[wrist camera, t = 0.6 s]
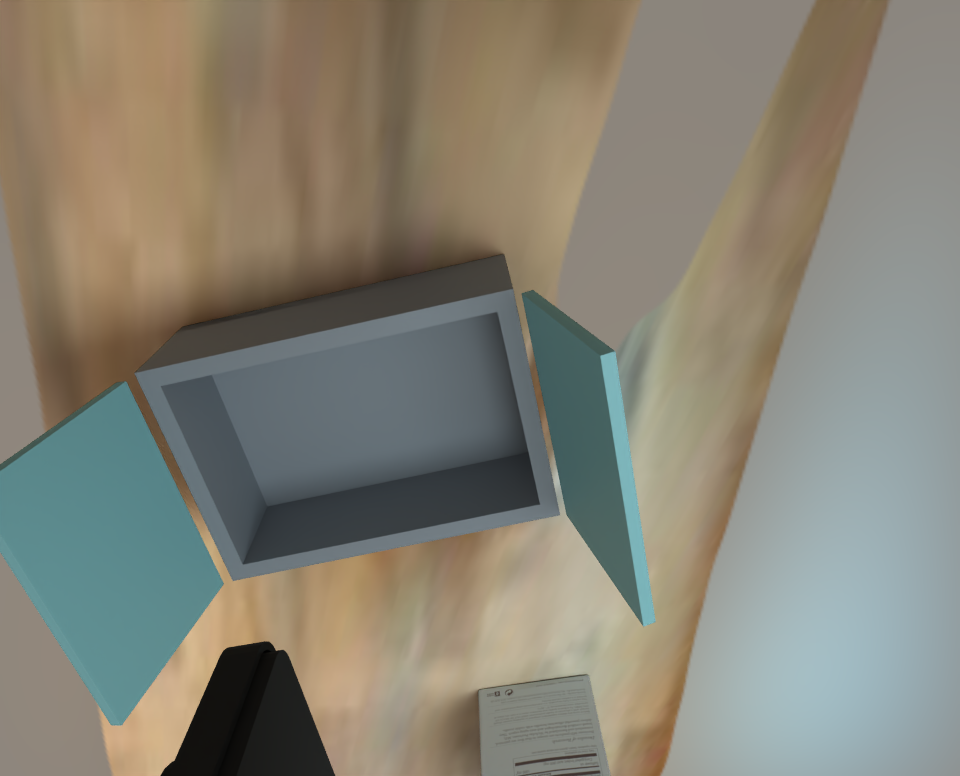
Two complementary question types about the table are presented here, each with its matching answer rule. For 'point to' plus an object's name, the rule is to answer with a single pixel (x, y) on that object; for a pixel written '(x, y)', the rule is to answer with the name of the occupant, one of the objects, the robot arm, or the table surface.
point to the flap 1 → (106, 547)
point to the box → (356, 419)
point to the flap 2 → (591, 446)
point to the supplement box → (541, 730)
